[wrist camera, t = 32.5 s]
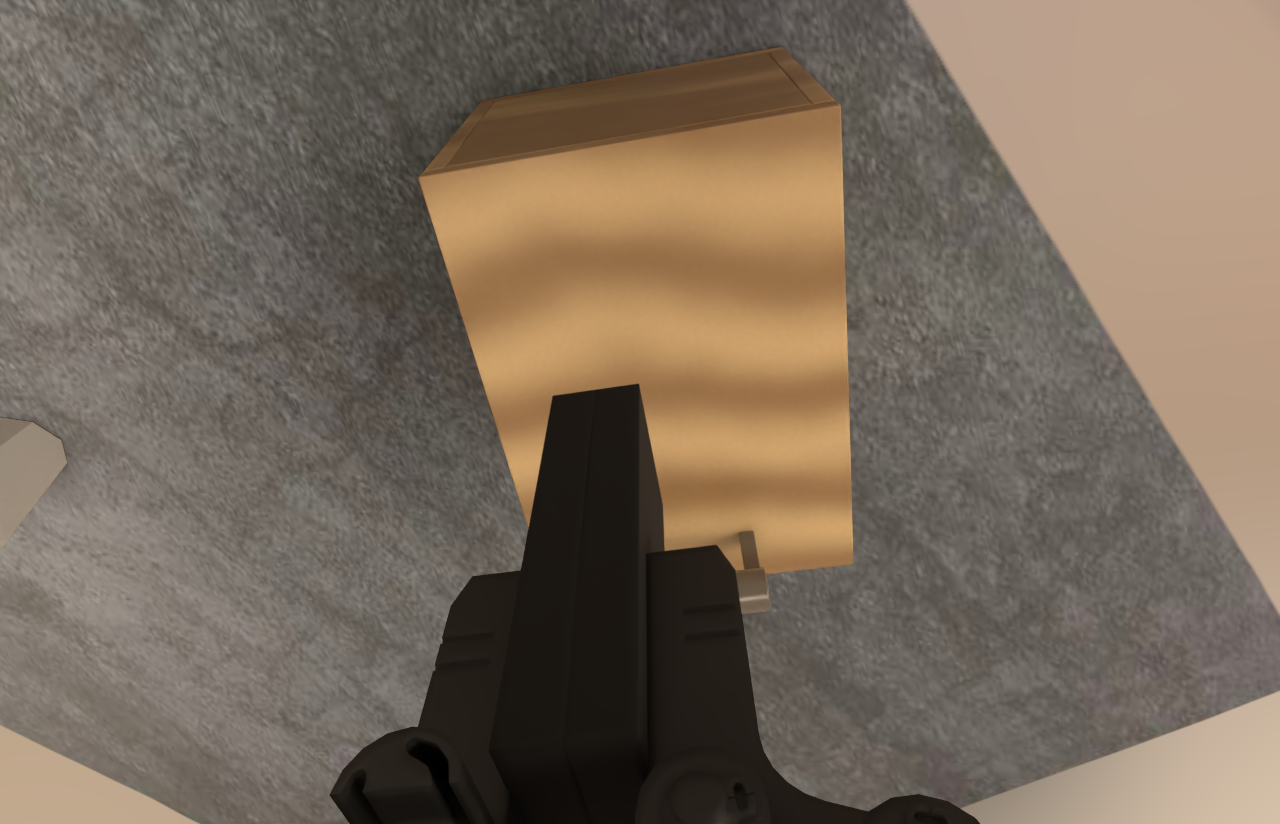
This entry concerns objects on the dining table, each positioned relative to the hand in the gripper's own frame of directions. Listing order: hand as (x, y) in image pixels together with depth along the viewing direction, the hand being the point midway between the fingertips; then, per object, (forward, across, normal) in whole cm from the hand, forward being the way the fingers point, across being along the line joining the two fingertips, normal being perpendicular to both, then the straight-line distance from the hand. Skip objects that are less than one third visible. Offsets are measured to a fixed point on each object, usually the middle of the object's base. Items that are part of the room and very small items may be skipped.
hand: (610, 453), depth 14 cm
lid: (+16, 0, -9) cm, 18 cm away
